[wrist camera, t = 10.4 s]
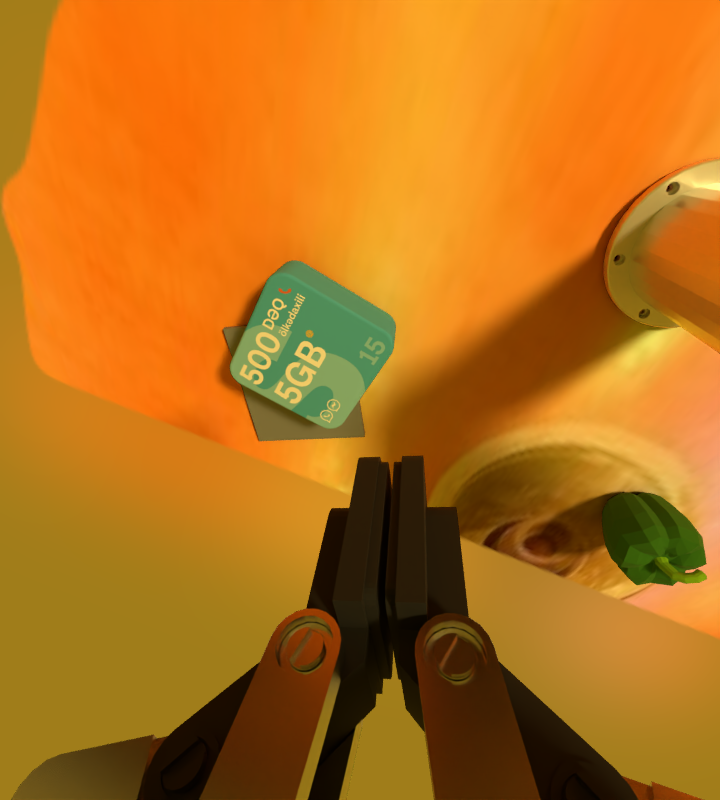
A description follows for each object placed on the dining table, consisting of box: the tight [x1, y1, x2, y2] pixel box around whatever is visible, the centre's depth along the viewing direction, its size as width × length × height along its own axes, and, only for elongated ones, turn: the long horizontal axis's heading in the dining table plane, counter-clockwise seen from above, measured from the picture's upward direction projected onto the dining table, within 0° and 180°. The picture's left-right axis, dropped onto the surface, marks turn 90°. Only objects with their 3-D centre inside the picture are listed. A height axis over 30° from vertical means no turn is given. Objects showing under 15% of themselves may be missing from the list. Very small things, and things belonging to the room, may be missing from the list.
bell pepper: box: [602, 492, 707, 586], centre depth 43 cm, size 8×8×10 cm
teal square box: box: [230, 261, 396, 429], centre depth 38 cm, size 12×4×12 cm
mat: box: [223, 325, 365, 441], centre depth 44 cm, size 12×14×1 cm
